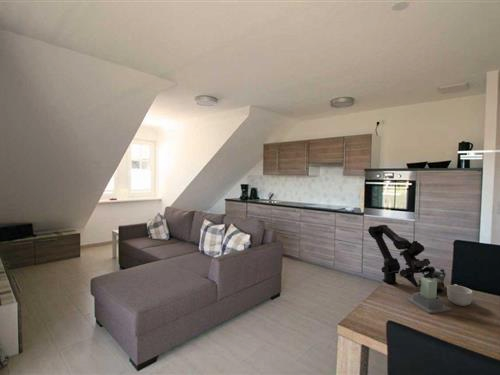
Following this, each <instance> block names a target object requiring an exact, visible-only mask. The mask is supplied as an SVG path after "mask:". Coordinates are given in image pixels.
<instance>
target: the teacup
mask: <svg viewBox="0 0 500 375" xmlns="http://www.w3.org/2000/svg"><path fill="white" fill-rule="evenodd" d="M446 294H447V298H448V300H449V301H450V302H451V303H452V304H454V305H456V306H462V307H465V306H466V307H467V306H468V305H470V304H471V303H472V301H473V290H472V289H470V288H468V287H466V286H463V285H458V284H456V283H455V284H451V285H450V284H448V285H447V286H446Z"/></svg>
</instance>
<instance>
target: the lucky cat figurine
mask: <svg viewBox="0 0 500 375" xmlns="http://www.w3.org/2000/svg"><path fill="white" fill-rule="evenodd" d="M434 269H435V270H436V271H435V272H434V273H433V274H432V279H433V280H435V281H437V290H440V291H442V292H443V291H445V283H444V281H445V278H446V275H447V273H446V272H445V269H443V268H442V269H439V268H435V267H434ZM422 278H425V277H424V275H423V277H422ZM417 284H418V286H421V278H420V279H419V280H418V281H417Z"/></svg>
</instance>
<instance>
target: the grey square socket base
mask: <svg viewBox="0 0 500 375" xmlns="http://www.w3.org/2000/svg"><path fill="white" fill-rule="evenodd" d="M405 300H406V301H407V302H408V303H409V304H411V305H413V306H415V307H417V308H418V309H420V310H422V311H423V312H425V313H427V314H429V315H431V314H437V313H444V312H449V311H451V310H452V309H451V307H449V306H447V305H445V304H444V299H443V298H442V297H440V296H438V295H436V299H435V300H427V299H425V298H424V297H422V296H420V291H419V292H413V295H412V297H409V298H406V299H405Z"/></svg>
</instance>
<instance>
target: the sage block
mask: <svg viewBox="0 0 500 375" xmlns="http://www.w3.org/2000/svg"><path fill="white" fill-rule="evenodd" d="M420 279H421V285H420V291H419V292H420V296H422V297H424V298H425V299H427V300H435V299H436V296H437V290H438V289H437V281H435V280H433V279H431V278H423V277H421V278H420Z"/></svg>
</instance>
